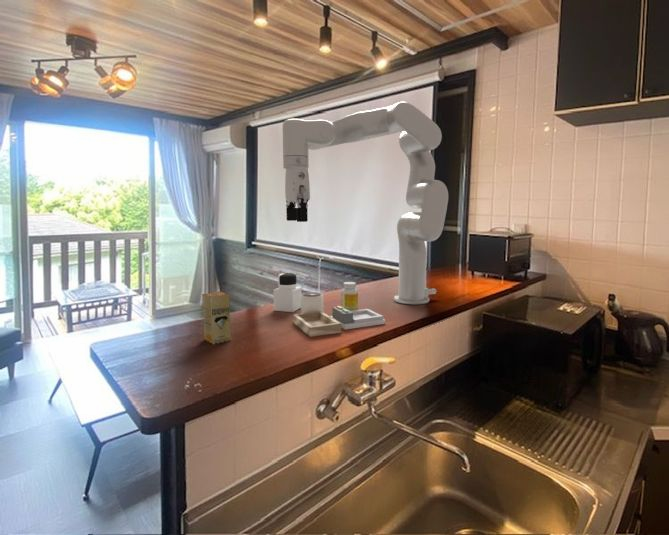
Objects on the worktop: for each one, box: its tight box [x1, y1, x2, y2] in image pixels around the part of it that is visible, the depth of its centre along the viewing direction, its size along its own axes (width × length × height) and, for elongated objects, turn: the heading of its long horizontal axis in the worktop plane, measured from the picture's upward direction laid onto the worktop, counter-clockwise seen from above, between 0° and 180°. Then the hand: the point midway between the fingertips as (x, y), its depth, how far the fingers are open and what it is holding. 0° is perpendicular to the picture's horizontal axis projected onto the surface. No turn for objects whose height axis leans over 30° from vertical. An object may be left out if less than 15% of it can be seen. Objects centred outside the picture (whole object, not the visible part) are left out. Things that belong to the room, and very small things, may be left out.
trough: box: [292, 311, 342, 338], centre depth 113 cm, size 14×9×2 cm, turn 24°
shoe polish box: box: [201, 291, 232, 345], centre depth 102 cm, size 5×5×12 cm
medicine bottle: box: [272, 272, 302, 313], centre depth 133 cm, size 7×7×12 cm
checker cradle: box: [329, 305, 386, 330], centre depth 118 cm, size 13×10×5 cm
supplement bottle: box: [340, 281, 359, 311], centre depth 129 cm, size 5×5×10 cm
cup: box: [300, 291, 324, 314], centre depth 124 cm, size 7×7×7 cm
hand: (296, 221), depth 122 cm, fingers open, 9 cm apart
